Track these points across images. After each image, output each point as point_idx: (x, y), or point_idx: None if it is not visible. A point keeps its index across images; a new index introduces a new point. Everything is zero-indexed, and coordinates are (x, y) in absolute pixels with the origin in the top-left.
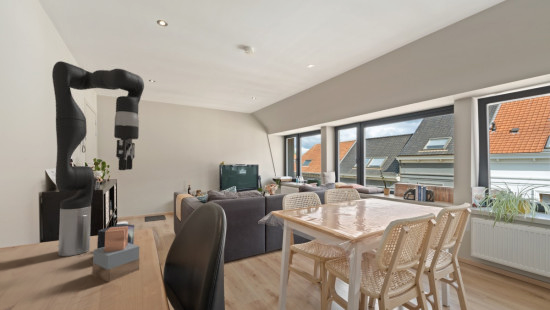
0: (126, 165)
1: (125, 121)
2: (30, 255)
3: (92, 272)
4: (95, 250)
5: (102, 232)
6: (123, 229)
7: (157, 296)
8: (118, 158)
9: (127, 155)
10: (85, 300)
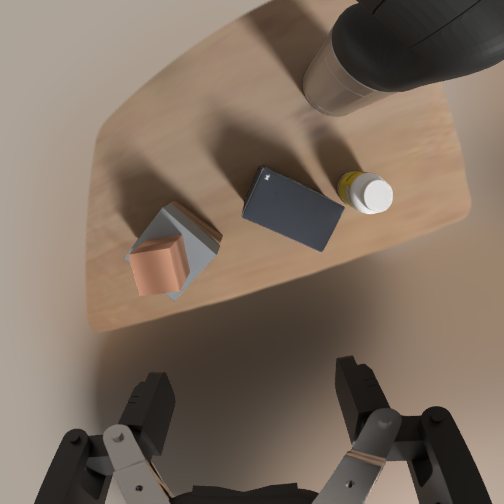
0: (343, 382)
1: None
2: (324, 12)
3: (172, 201)
4: (157, 214)
5: (254, 185)
6: (145, 291)
7: (104, 325)
8: (112, 429)
9: (422, 436)
10: (95, 237)
